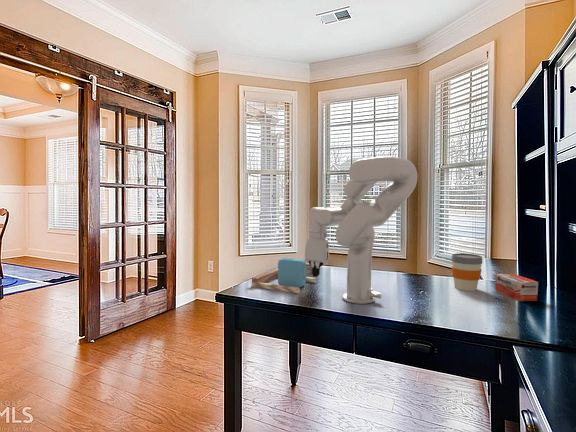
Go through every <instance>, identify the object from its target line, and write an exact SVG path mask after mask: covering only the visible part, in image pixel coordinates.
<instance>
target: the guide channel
mask: <svg viewBox="0 0 576 432" xmlns="http://www.w3.org/2000/svg"><path fill="white" fill-rule="evenodd" d="M276 279H278V268H277V269H276V268H273V269H270V270H267V271H265V272H262V273H260V274H257V275H255V276H253V277H251V287H252V288H253V287H254V288H259V289H260V288H261V289H267V290H272V291H273V290H274V291H280V292H287V293H293V294H300V293H301V289H300V288H301V287H291V286H283V285H279V284H274V283H270V282H272V281H274V280H276ZM305 283H314V284H316V283H317V277H313V276H311V277H310V276H306V280H305Z"/></svg>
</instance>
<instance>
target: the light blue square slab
mask: <svg viewBox="0 0 576 432" xmlns="http://www.w3.org/2000/svg"><path fill="white" fill-rule="evenodd" d="M277 265H278V266H277V269H278V278H277V285H283V286H290V287H297V288H302V287H304V285H305V284H306V282H305V280H306V277H307V276H306V272H307V271H306V270H307V267H306V265H307V262H305V259H299V258H288V257H287V258H286V257H283V258H281V259H279V260H278V263H277Z"/></svg>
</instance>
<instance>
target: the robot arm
mask: <svg viewBox="0 0 576 432" xmlns="http://www.w3.org/2000/svg"><path fill="white" fill-rule="evenodd" d="M348 176H349V178H350V179H349V180H348V182H347V183H346V184H345V185H344V187H343V193H344V195H345V196H346V199H345V200H344V202H343V203H342V204H341V205H340V207H331V208H325V207H319V206H316V207H314V206H313V207H311V208H310V210H309V224H308V225H309V227H308V231H309V232H308V237H307V239H306V242H305V243H306V244H305V249H304V261H305V262H306V264H309V265H310V267H311V274H312V278H317V277H319V275H320V274H321V273H320V272H321V271H320V270H321V267H322V266H326V265H328V264H329V259H330V247H329V240H328V238H329V237H330V234H329V233H327V227H336V226H337V228H336V230H335V239H336V242H337V243H338V244H339V245H340V246H341V247H344V248H345V247H346V248H348V251H347V262H346V263H347V265H346V266H347V267H346V293H344V294H342V299H343V300H344V301H345V302H347V303H351V304H359V305H360V304H361V305H362V304H363V305H366V304H372V303H373V302H375V298H376V299H379V300H380V299H383V298H382V297H383V294H382V293H380V292H378V291H374V289H373V287H372V265H373V264H372V263H373V250H374V249H373V247H374V243H375V237H376V233H375V232H376V231H375V229H374V228H375V227H380V226H383V225H385V224H386V222H387V221H388V220H389V219H390V218H391V217H392V215H393V214H394V213H395V212H396V211H397V210H398V209H399V208H400V207H401V206H402V204H403V203H404V202H405V201H406V200H408V198H409V197H410V195H412V193H413V192H414V191H415V188H416V187H417V183H418V171H417V168H416V166H415V164H413V162H412V161H410V160H409V159H408V158H407V159H406V158H403V157H397V156H389V155H388V156H387V155H385V156H377V157H369V158H361V159H357V160H355V161H353V162H352V163H351V164H350V166H349V170H348ZM377 182H390V183H389V184H388V185H387V186H386V187H385V188H384V189H383V190H382V191H381V192H380V193H379V194H378V195H377V196H376V197H375V198H373V200H371V201H362V202H361V200H362V199H363V198H364V197H365V196H366V195H367V193H369V191H370V190H371V189H372V188H373V187H374V186H375V185H376V184H377Z"/></svg>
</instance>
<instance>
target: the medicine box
mask: <svg viewBox="0 0 576 432" xmlns="http://www.w3.org/2000/svg"><path fill="white" fill-rule="evenodd" d="M495 277H496V278H495V292H497V293H499V294H502V295H504V296H506V297H509V298H511V299H514V300H515V301H517V302H535V301H536V302H537V301H538V294H539V293H538V292H539V290H538V289H539V281H538V280H537V281H536V280H534V279H531V278H528V277H525V276H522V275H519V274H515V273H497V274H496V276H495Z"/></svg>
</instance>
